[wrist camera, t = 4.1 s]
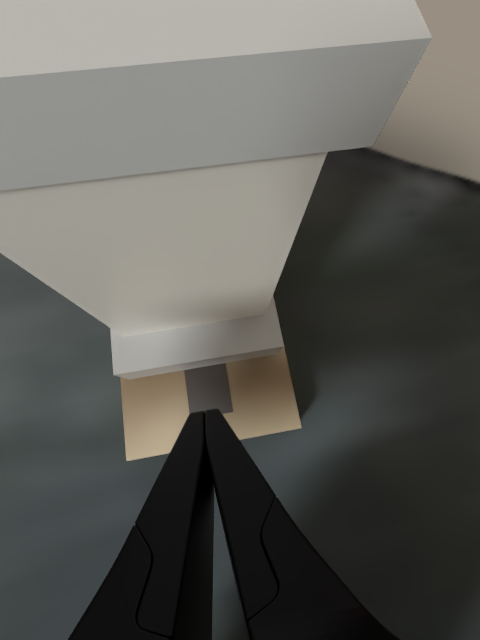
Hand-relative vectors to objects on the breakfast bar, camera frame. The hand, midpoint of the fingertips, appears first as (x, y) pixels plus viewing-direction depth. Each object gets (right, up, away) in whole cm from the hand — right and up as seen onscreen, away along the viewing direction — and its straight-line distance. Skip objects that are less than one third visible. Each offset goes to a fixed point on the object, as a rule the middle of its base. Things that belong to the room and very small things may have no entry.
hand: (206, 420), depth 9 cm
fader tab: (-1, +3, +6) cm, 7 cm away
